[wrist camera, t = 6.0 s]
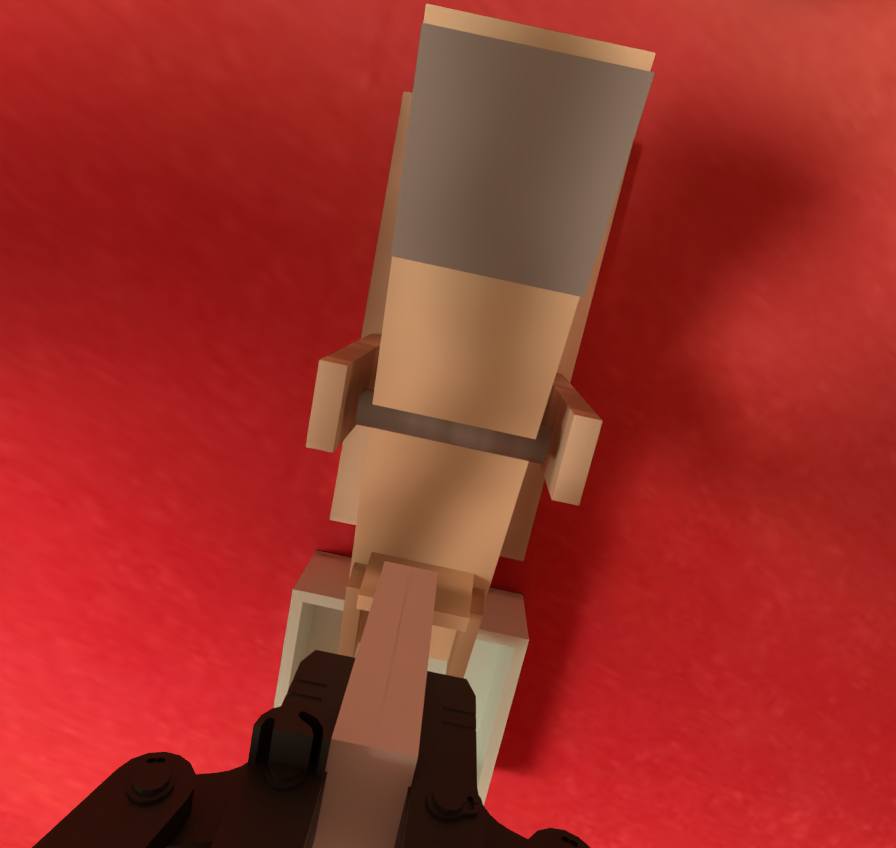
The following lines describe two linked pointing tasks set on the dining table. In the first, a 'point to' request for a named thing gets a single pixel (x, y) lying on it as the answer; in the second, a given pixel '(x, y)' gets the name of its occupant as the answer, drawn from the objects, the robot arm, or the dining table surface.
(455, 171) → the lever
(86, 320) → the dining table surface
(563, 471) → the catapult base
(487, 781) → the shallow square tray
